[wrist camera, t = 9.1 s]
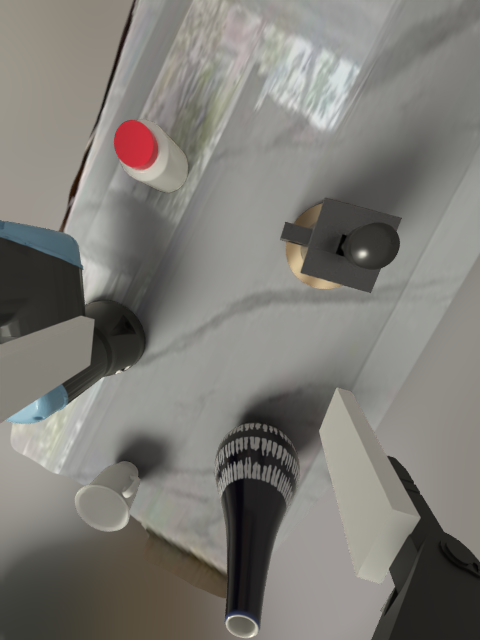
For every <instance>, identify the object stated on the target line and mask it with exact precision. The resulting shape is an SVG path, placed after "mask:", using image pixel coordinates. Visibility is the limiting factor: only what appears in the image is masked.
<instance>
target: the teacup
mask: <svg viewBox="0 0 480 640" xmlns="http://www.w3.org/2000/svg"><path fill="white" fill-rule="evenodd" d="M139 485H140V479H139V478H138V470H137V468H136V466H135V465H133V464H132V463H130V462H127V461H122V462H119V463H118V464H113V465H111V466H109V467H107V468H106V469H104V470H103V471H102V472H101V473H100V474H99V475H98V476H97V477H96V478H95V479H94V480H93V481H92V482H91V483H90V484H89V485H88V486H85V487H82V488H81V489H80V490H79V491H78V492H77V494H76V497H75V507H76V510H77V512H78V514H79V515H80V517H81V518H82V519H83V520H84V521H85V522H86V523H87V524H88V525H90V526H92V527H93V528H96V529H98V530H102V531H116V530H119V529H121V528H123V527H124V526H125V525H126V524H127V522H128V520H129V516H130V514H129V510H130V508H131V505H132V503H133V501H134V498H135V496H136V493H137V491H138V487H139Z"/></svg>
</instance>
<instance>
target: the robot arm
mask: <svg viewBox="0 0 480 640" xmlns="http://www.w3.org/2000/svg"><path fill="white" fill-rule="evenodd" d="M82 270H83V266H82V265H81V260H80V252H79V246H78V243H77V242H76V240H75V239H74V238H73V237H71V236H70V235H68V234H65V233H62V232H58V231H54V230H50V229H45V228H40V227H35V226H30V225H25V224H20V223H14V222H8V221H1V220H0V423H2V422H3V421H5V420H6V421H10V422H13V423H19V424H31V423H36V422H39V421H42V420H44V419H46V418H47V417H49V416H50V415H52V414H53V413H55V412H56V411H59V410H61V409H63V408H64V407H65V406H66V405H67V404H69V403H70V402H71V401H72V400H74V399H75V398H76V397H78V396H79V395H80V394H82V393H83V392H84V391H85V390H87V389H88V388H89V387H91V386H92V385H93V384H94V383H96V382H97V381H98V380H100V379H101V378H102V377H106V376H110V375H114V374H118V373H121V372H124V371H126V370H127V369H129V368H130V367H132V366H133V365H134V364H135V363H136V362H137V361H138V360H139V359H140V357H141V356H142V354H143V351H144V347H145V336H144V331H143V328H142V326H141V324H140V322H139V320H138V319H137V317H136V316H135V315H134V314H133V313H132V312H131V311H130V310H129V309H128V308H126V307H125V306H123V305H121V304H119V303H117V302H113V301H108V300H101V301H96V302H93V303H89V304H87V305H85V300H84V288H83V276H82ZM319 433H320V437H321V441H322V445H323V449H324V453H325V457H326V461H327V464H328V468H329V472H330V476H331V480H332V484H333V488H334V492H335V496H336V500H337V504H338V508H339V512H340V516H341V519H342V523H343V527H344V531H345V535H346V539H347V543H348V547H349V551H350V555H351V558H352V562H353V567H354V571H355V574H356V576H357V577H359V578H363V579H366V580H369V581H372V582H376V583H379V584H382V582H383V580H384V578H385V577H386V575H387V574H388V571H390V573H391V576H392V579H393V582H394V584H395V588H394V590H393V591H392V593H391V594H390V596H389V598H388V599H387V601H386V602H385V604H384V606H383V607H382V609H381V612H382V616H381V618H380V620H379V623H378V625H377V627H376V630H375V632H374V635H373V637H372V639H371V640H480V562H479V560H478V559H477V558H476V557H475V556H474V555H473V554H472V552H471V551H470V550H469V549H468V548H467V547H466V546H465V545H463V544H462V543H461V542H460V541H459V540H457V539H456V538H454V537H452V536H451V535H449V534H447V533H445V532H444V531H443V529H442V528H441V526H440V525H439V523H438V521H437V520H436V518H435V516H434V515H433V513H432V511H431V510H430V508H429V506H428V505H427V503H426V501H425V500H424V498H423V496H422V495H420V491H419V490H418V488H417V487H416V485H414V481H413V480H412V479H411V476H410V475H409V473H408V472H407V470H406V469H405V468H404V467H403V466H402V465H401V464H400V463H399V462H398V461H397V459H395V458H393V457H390V456H387V455H386V454H385V452H384V450H383V448H382V446H381V445H380V443H379V441H378V439H377V437H376V436H375V434H374V432H373V430H372V428H371V426H370V425H369V423H368V421H367V419H366V417H365V415H364V414H363V412H362V410H361V408H360V406H359V404H358V403H357V401H356V399H355V397H354V395H353V394H352V392H351V391H348V390H344V389H341V388H336V390H335V393H334V395H333V398H332V400H331V403H330V405H329V408H328V410H327V413H326V415H325V418H324V420H323V423H322V425H321V428H320V430H319Z"/></svg>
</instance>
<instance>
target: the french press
mask: <svg viewBox="0 0 480 640" xmlns="http://www.w3.org/2000/svg"><path fill="white" fill-rule="evenodd" d="M401 219H402V218H400V217H396V216H392V215H388V214H385V213H381V212H377V211H373V210H369V209H366V208H362V207H358V206H354V205H350V204H347V203H343V202H339V201H335V200H331V199H328V198H324V201H323V204H322V207H321V210H320V213H319V216H318V219H317V221H316V222H315V223H314V224H313V225H311V226H310V227H309V228H306V227H303V226H299V225H295V224H291V223H288V222H285V225H284V228H283V232H282V235H281V238H280V240H282V241H286V242H290V243H293V244H297V245H301V247H300V250H301V256H302V259H303V265H302V268H301V271H300V273H302V274H305V275H309V276H312V277H316V278H319V279H323V280H326V281H330V282H333V283H337V284H340V285H344V286H348V287H351V288H355V289H358V290H362V291H366V292H369V293H371V291H372V289H373V286H374V284H375V282H376V279H377V277H378V274H379V272H380V269H381V268H380V269H376V270H369V269H365V268H360V267H356V266H354V265H352V264H350V263H349V262H348V261H347V259H346V258H345V257H344V256H340V255H337V254H336V251H337V248H338V245H339V243H340V240H341V237H342V235H346V236H348V234H349V233H350V232H351V231H353V230H354V229H355V228H357V227H360V226H363V225H367V224H371V223H377V222H380V223H385V224H388V225H390V226H391V227H393V228H394V229H395V230H396V231H397V228H398V226H399V224H400V221H401Z"/></svg>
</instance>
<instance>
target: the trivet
mask: <svg viewBox="0 0 480 640" xmlns="http://www.w3.org/2000/svg"><path fill="white" fill-rule="evenodd" d="M322 204H323V203H321V204H318V205H316V206H314V207H312V208H310V209H308V210H307V211H305V212H304V213H303V214H302V215H301V216H300V217H299V218H298V219H297V220H296V221H295V223H294V224H295V225H299V226H303V227H306V228H309V227H310V226H311V225H313V224H314V223H315V222H316V221H317V219H318V216H319V213H320V210H321V207H322ZM300 247H301V245H297V244H293V243H290V242H286V255H287V260H288V263H289V266H290V268H291V269H292V271H293V273H294V274H295V275H296V276H297V277H298V278H299V279H300V280H301V281H302V282H304V283H306V284H307V285H309V286H312V287H315V288H320V289H332V288H337V287H340V286H343V285H340V284H337V283H333V282H330V281H326V280H323V279H319V278H316V277H312V276H309V275H305V274H302V273H300V271H301V268H302V265H303V259H302V256H301V250H300Z"/></svg>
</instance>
